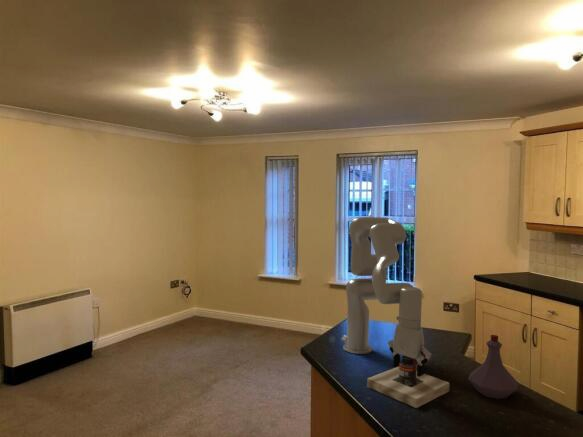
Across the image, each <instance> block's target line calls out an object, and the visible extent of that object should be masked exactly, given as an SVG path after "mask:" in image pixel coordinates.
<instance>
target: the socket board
mask: <svg viewBox="0 0 583 437" xmlns="http://www.w3.org/2000/svg"><path fill="white" fill-rule="evenodd" d="M366 379H367V380H366V383H367V384H366V387H367V388H369V389H371V390H373V391H375V392H378V393H380V394H383V395H385V396H388V397H390V398H392V399H394V400H396V401H398V402H401V403H403V404H406V405H408V406H411V407H413V408H415V409H418V408H420V407H421V406H423V405H425V404H428V403H429V402H431V401H433V400H435V399H437V398H439V397H441V396H443V395H445V394H447V393H448V392H450V382H448V381H446V380H442V379H440V378H437V377H435V376H431V375H429V374H427V373H424V375H422V376H420V377H418V376H417V370H416V386H413V387H409V386H406V385H404V384H401V383H399V367H396V368H394V367H393V368H390V369H389V370H385V371H383V372H381V373H378V374H375V375H373V376H369V377H367V378H366Z"/></svg>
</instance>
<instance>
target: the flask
mask: <svg viewBox="0 0 583 437" xmlns="http://www.w3.org/2000/svg"><path fill="white" fill-rule="evenodd" d="M486 345H487V348H488V350H487V355H486V358H485V361H483V363H482V364H480V366H478V367H476V369H474V370H473V371H471V372H470V374H469V376H468V379H467V380H468V381H469V382H470V383H471V384H472V386H473V387H474V389H476V391H477V392H478V393H479V394H481V395H483V396H484V397H486V398H491V399H495V400H500V399H507V398H508V397H509V396H510V395H512V394H514V392H516V391H518V385H519V382H518V380H516V378H514V376H513V375H512V374H511V373H510V372H509V370H508V369H507V368H506V367H505V366H504V364H503V361H502V356H501V350H500V349H501V348H502V346H503V344H502V343H501V342H500V341H499V335H497V334H491V335H490V340H488V341H486Z"/></svg>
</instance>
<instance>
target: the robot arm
mask: <svg viewBox="0 0 583 437" xmlns="http://www.w3.org/2000/svg"><path fill="white" fill-rule="evenodd" d="M348 231H349V237H350V241H351V252H350V254H351V255H350V271H351V274H352V275H353V276H356V277H360V278H352V279H350V280H348V281H347V283H346V285H345V292H346V298H347V299H346V300H347V319H346V320H347V328H346V335H345V334H344V335H343V336H342V337H341V341H343V342H344V344H343V350H344V351H345V352H348V353H351V354H356V355H363V354H369V353H371V352H372V351H373V347H372V346H371V345H370V344H369V338H370V337H369V335H370V309H369V307H368V305H367V304H366V302H365V301H372V300H377V301H378V302H379V303H380V304H382V305H398V316H396V321H398V323H396V325H395V329H394V336H393V339H391V340H389V341H387V344H388V347H389V350H390V352H391V355H392V358H393V359H392V364H393V366H392V367H393V368H396V367H399V363H400V362H401V356H406V357H409V358H412V359H416V360H417V362H418V363H419V365H417V369H416V371H417V376H418V377H420V376H422V375H424V374H425V368H426V365H427V363H428V362H430V359H431V358H432V356H433V355H432V353H431V352H430V351H429V350H428V349H427V348H424V340H425V337H424V330H423V328H422V327H421V326H422V304H423V303H422V300H423V298H422V297H423V293H422V292H423V291H422V290H421V289H420V288H419V287H416V286H413V285H412V284H411V283H409V282H391V283H390V282H387V274H388V273H387V270H388V269H387V268H388V267H390V266H392V265H395V263H397V262H398V261H399V260H400V253H399V251H398V248H397V245H401V244H403V243H404V242H405V241H406V238H407V232H406V230H405V227H404V226H403V225H402V224H401V223H400V222H397V221H395V220H394V219H391V218H389V217H378V216H377V217H375V216H373V217H372V216H360V217H355V218H353V219H352V220H351V222H350V224H349V229H348ZM369 238H370V239H369ZM370 240H371V241H370ZM371 243H372V244H371ZM372 248H373V251H374V253H373V254H372ZM362 277H364V278H362ZM365 277H367V278H365ZM368 277H370V278H368ZM424 354H425V355H426V357H425V359H424V357H423V355H424Z"/></svg>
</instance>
